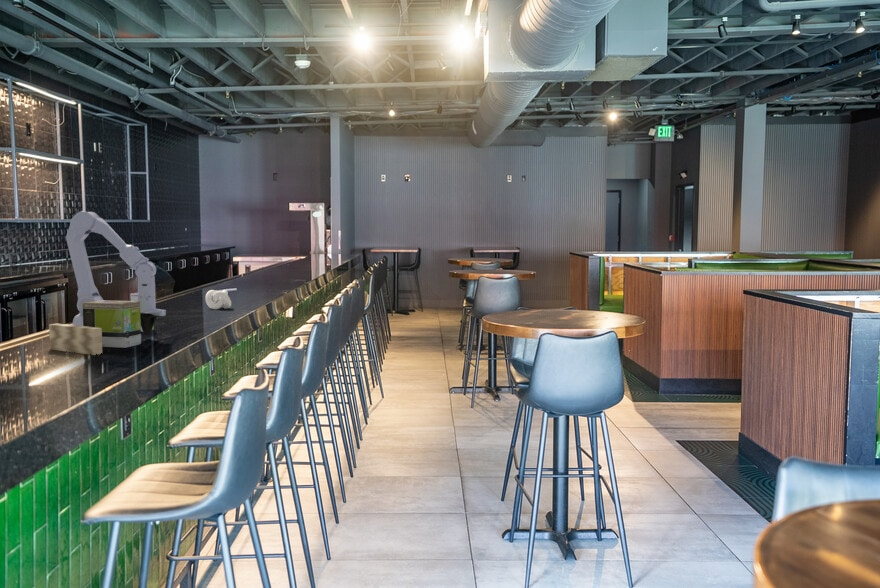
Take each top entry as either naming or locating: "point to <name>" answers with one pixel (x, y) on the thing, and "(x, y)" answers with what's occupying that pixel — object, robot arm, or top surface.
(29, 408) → the top surface
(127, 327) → the tea box
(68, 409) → the top surface
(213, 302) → the white curved lump
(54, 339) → the birch board
